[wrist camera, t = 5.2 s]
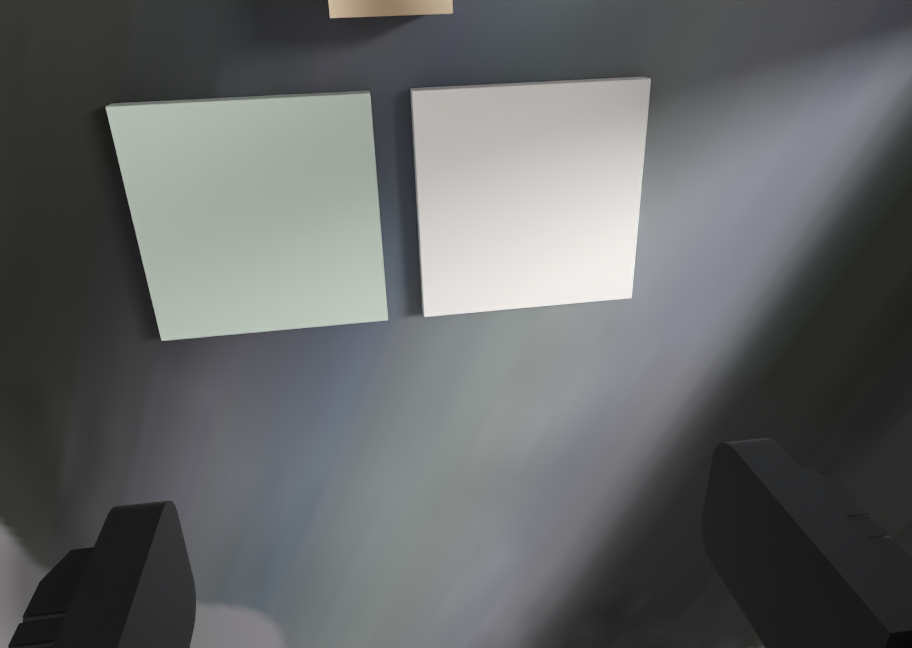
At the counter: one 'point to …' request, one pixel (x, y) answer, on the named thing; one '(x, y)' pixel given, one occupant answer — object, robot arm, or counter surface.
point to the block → (387, 7)
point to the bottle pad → (254, 210)
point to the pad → (528, 192)
